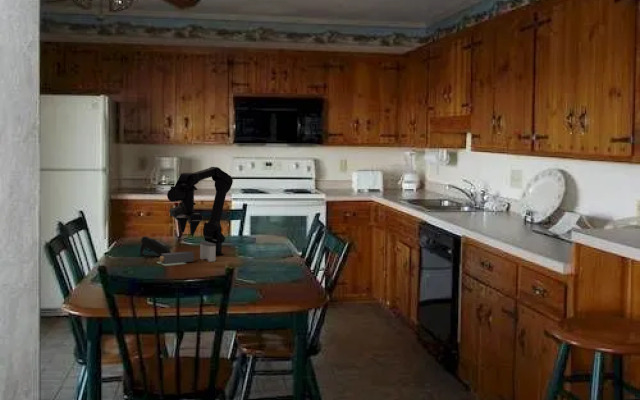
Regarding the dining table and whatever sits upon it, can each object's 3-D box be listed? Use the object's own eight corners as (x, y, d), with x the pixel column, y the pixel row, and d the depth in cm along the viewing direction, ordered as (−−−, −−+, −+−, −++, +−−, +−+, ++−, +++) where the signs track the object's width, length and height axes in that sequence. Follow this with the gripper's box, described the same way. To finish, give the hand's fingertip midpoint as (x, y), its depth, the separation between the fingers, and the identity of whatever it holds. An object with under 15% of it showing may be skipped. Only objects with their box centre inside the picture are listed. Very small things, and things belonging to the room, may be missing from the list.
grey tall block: (189, 259, 322) (189, 251, 322) (193, 261, 319) (193, 252, 319) (158, 262, 313) (158, 253, 313) (162, 264, 310) (162, 255, 309)
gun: (162, 269, 330) (172, 251, 328) (134, 251, 332) (143, 233, 330) (165, 268, 332) (174, 250, 331) (137, 250, 335) (146, 233, 333)
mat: (176, 260, 321) (176, 260, 321) (186, 264, 314) (186, 263, 314) (156, 262, 315) (156, 261, 315) (165, 266, 308) (165, 265, 308)
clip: (205, 258, 331) (206, 241, 330) (215, 261, 324) (215, 243, 323) (200, 258, 329) (200, 241, 328) (209, 261, 322) (209, 244, 321)
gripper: (162, 199, 326) (162, 232, 327) (181, 202, 311) (180, 237, 313) (184, 198, 333) (183, 230, 334) (203, 201, 318) (203, 236, 320)
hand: (187, 233), depth 325 cm, fingers open, 9 cm apart
